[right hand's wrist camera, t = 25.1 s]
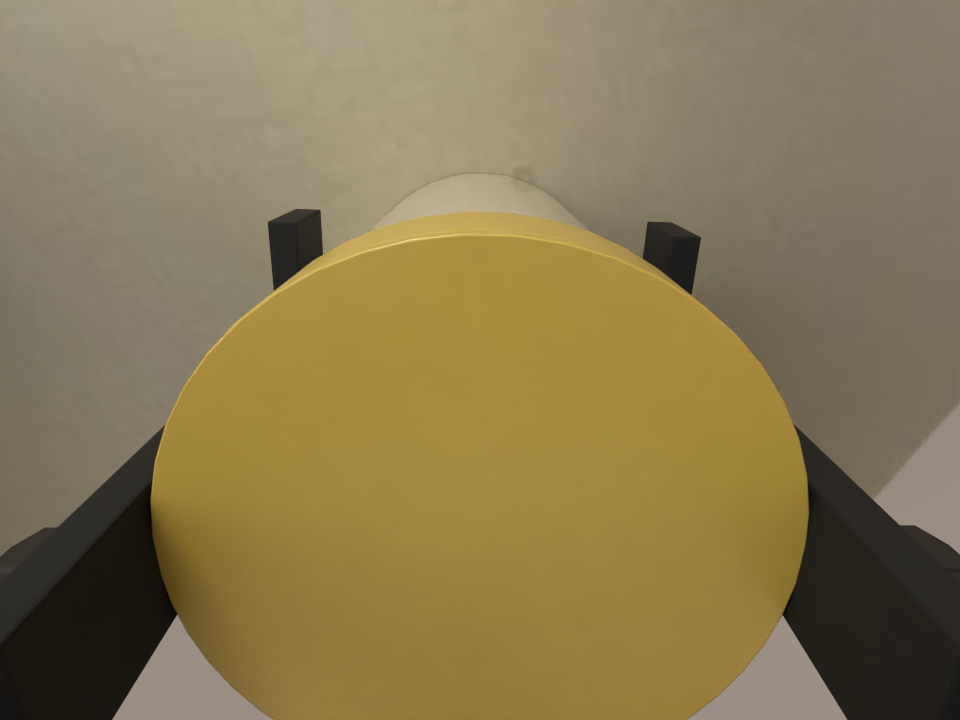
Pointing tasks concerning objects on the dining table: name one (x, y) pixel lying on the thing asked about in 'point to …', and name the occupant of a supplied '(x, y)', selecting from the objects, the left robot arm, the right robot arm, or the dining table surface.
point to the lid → (479, 485)
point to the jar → (479, 200)
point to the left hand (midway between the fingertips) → (484, 221)
